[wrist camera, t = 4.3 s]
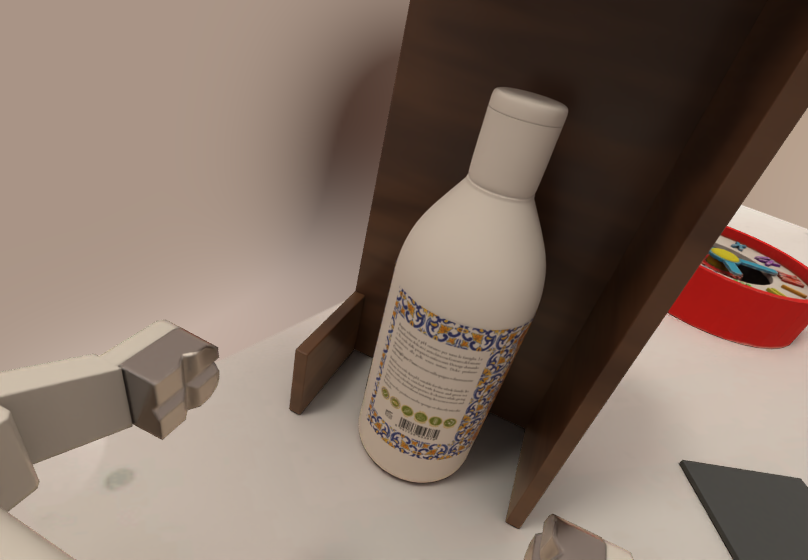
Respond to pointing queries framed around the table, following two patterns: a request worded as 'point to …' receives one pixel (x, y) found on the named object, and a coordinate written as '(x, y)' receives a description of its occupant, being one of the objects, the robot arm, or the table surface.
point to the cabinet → (580, 178)
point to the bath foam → (462, 297)
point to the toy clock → (746, 293)
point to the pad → (754, 510)
